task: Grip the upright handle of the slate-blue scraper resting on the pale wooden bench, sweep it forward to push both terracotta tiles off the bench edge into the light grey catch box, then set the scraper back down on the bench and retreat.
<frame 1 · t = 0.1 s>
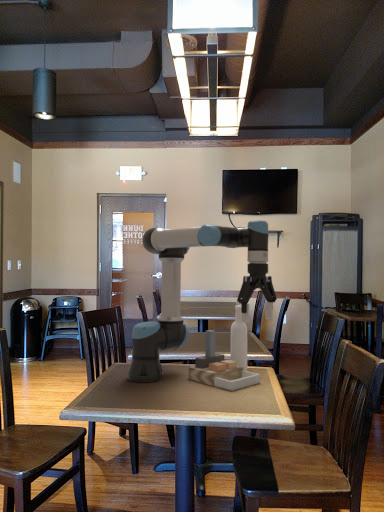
hand: (257, 321, 153), 28 cm above the table, tool pointing down, fingers open, 13 cm apart
tile b: (228, 367, 178), point 5 cm above the table, touching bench
bottle: (238, 371, 192), on the table
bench: (215, 378, 178), on the table
scraper: (210, 365, 181), point 5 cm above the table, touching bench
catch box: (237, 384, 170), on the table
tile a: (217, 369, 173), point 5 cm above the table, touching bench
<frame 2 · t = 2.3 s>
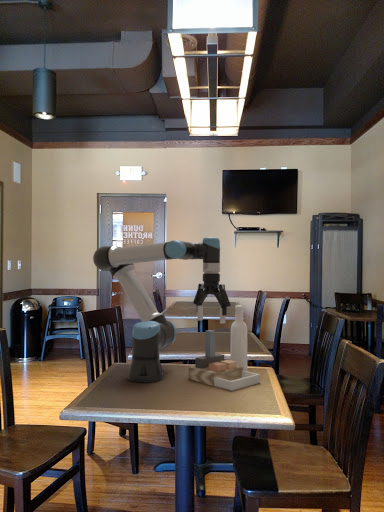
hand: (211, 321, 181), 24 cm above the table, tool pointing down, fingers open, 13 cm apart
nothing on the table moved.
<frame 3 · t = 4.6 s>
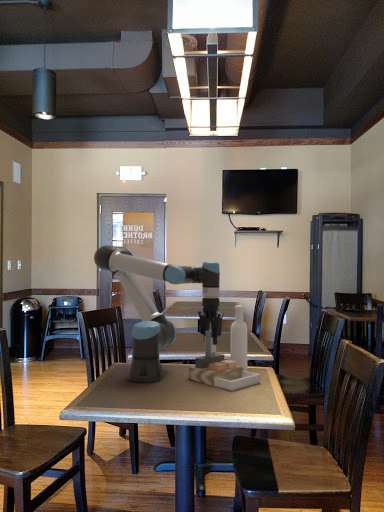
hand: (210, 351, 181), 11 cm above the table, tool pointing down, fingers closed on scraper, 3 cm apart
scraper: (210, 365, 181), point 5 cm above the table, touching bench, gripper
everything else where it was.
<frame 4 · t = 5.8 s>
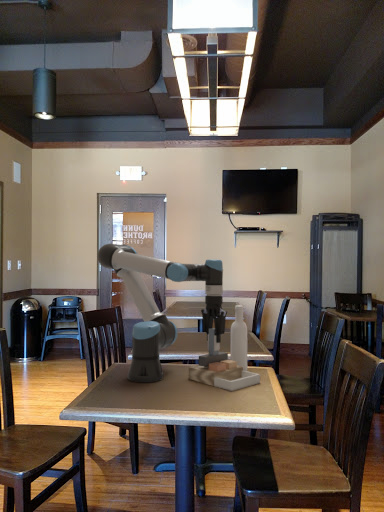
hand: (213, 349, 180), 12 cm above the table, tool pointing down, fingers closed on scraper, 3 cm apart
scraper: (213, 363, 180), point 6 cm above the table, touching gripper
everything else where it was.
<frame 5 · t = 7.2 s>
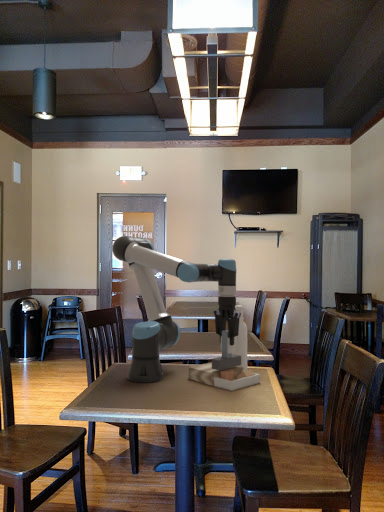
hand: (226, 352, 174), 12 cm above the table, tool pointing down, fingers closed on scraper, 3 cm apart
tile b: (243, 373, 172), point 4 cm above the table, tilted 140°, touching catch box
scraper: (226, 366, 174), point 6 cm above the table, touching gripper
tile a: (224, 376, 170), point 3 cm above the table, tilted 90°, touching catch box
everything else where it was.
when the fingers open (11 cm above the table, at t = 9.6 s): scraper stays where it is, resting on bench.
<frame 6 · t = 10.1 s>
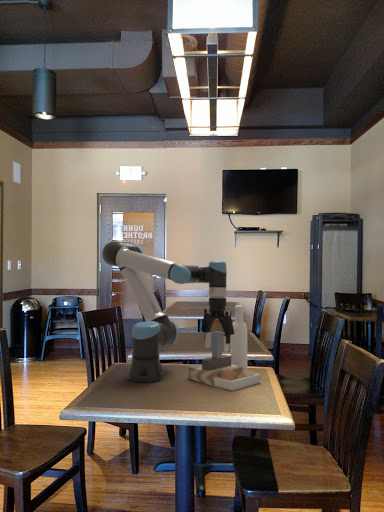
hand: (217, 349, 178), 12 cm above the table, tool pointing down, fingers open, 10 cm apart
scraper: (216, 367, 178), point 5 cm above the table, touching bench
everything else where it was.
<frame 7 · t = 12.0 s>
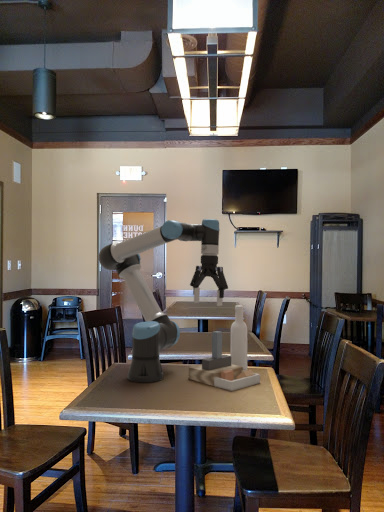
hand: (207, 304, 180), 32 cm above the table, tool pointing down, fingers open, 13 cm apart
nothing on the table moved.
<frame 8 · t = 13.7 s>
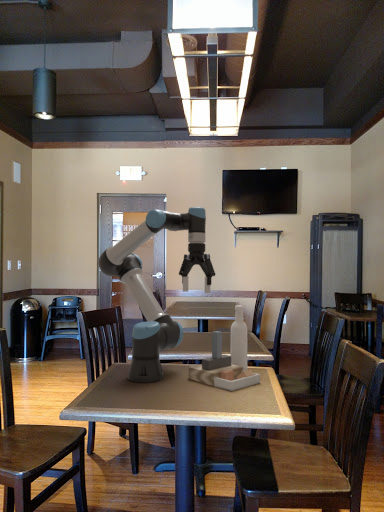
hand: (196, 292, 180), 37 cm above the table, tool pointing down, fingers open, 13 cm apart
nothing on the table moved.
at the end: tile a inside the target area on the catch box (5.3 cm from its centre), point 3.0 cm above the catch box's base; tile b inside the target area on the catch box (3.6 cm from its centre), point 4.0 cm above the catch box's base; scraper inside the target area (0.5 cm from its centre), point 5.0 cm above the table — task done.
